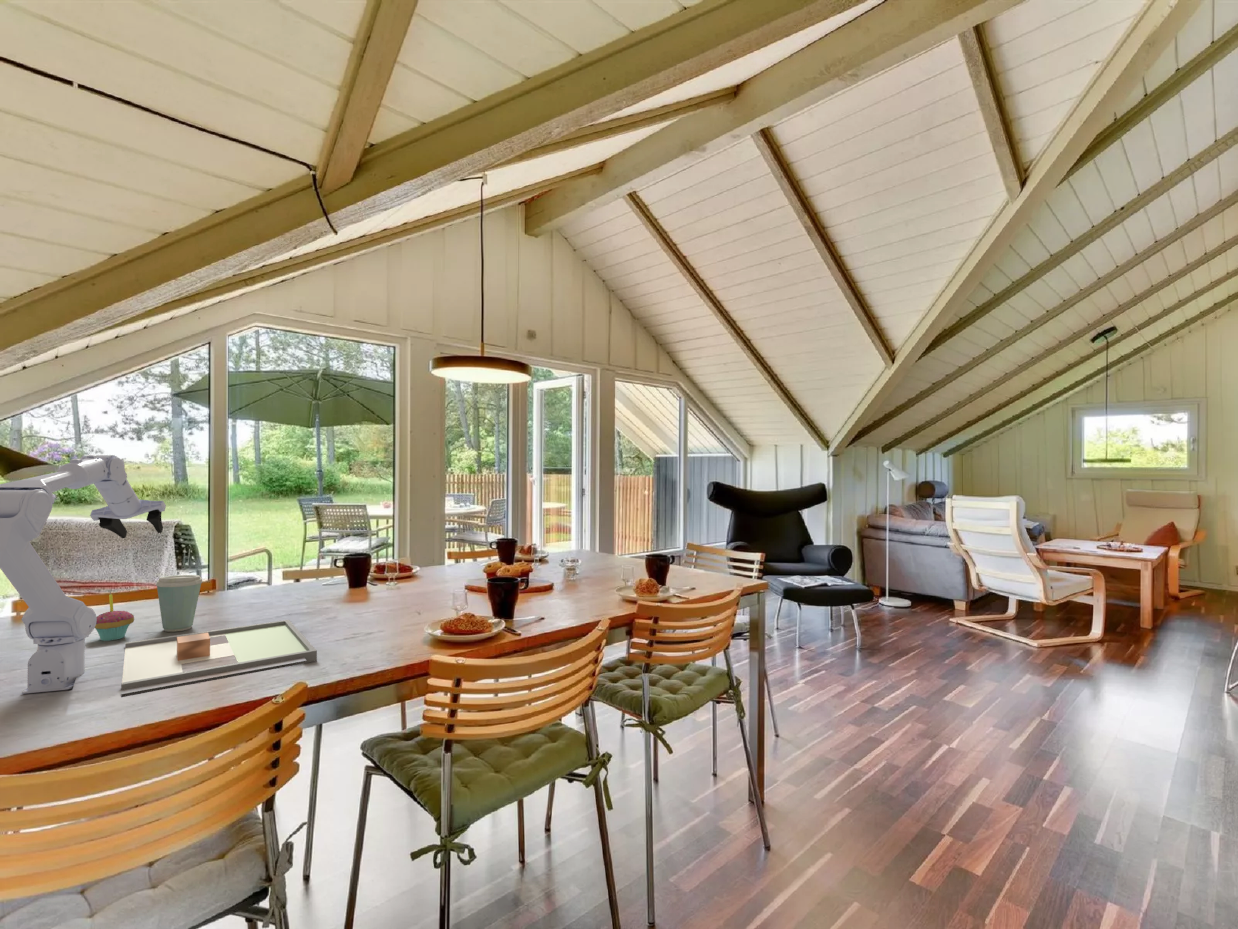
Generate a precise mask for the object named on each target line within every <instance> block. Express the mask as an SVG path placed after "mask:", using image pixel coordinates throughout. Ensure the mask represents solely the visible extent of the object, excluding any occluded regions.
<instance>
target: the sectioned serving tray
mask: <svg viewBox="0 0 1238 929" xmlns="http://www.w3.org/2000/svg"><path fill="white" fill-rule="evenodd" d="M202 633H208V634H209V637H210V639H211V638H218V637H224V636H225V638H226V640H227V642H225V643H218V644H213V645H212V644H210V656H205V657H198V658H192V659H186V660H180V661H178V658H177V637H180V636H187V635H195V634H202ZM124 645H125V648H124V658H123V659H124V660H123V668H122V676H121V686H120V687H121V688H120V690H122V691H124V690H127V689H133V688H139V687H145V686H149V685H150V686H151V685H155V684H156V685H157V684H161V683H167V682H174V681H178V680H184V679H189V678H196V677H200V676H207V675H211V674H218V673H223V672H228V671H236V670H240V669H245V668H251V667H252V668H253V667H256V666H261V665H268V664H274V663H279V662H280V663H281V662H285V661H291V660H297V659H301V658H304V659H305V660H303V661H297V662H296V661H295V662H290V663H285V664H279V665H274V666H270V667H263V668H257V669H252V670H246V671H241V672H236V673H230V674H226V675H219V676H214V677H209V678H204V679H203V678H202V679H197V680H192V681H187V682H186V681H185V682H181V683H175V684H169V685H165V686H158V687H153V688H149V689H148V688H147V689H141V690H137V691H133V692H132V691H131V692H126V693H121V694H120V696H121V698H125V697H129V696H135V695H141V694H146V693H151V692H156V691H162V690H167V689H168V690H169V689H173V688H178V687H179V688H180V687H184V686H190V685H195V684H200V683H206V682H211V681H217V680H221V679H223V680H224V679H227V678H232V677H237V676H243V675H248V674H249V675H250V674H253V673H260V672H264V671H269V670H270V671H271V670H277V669H281V668H282V669H283V668H287V667H292V666H299V665H304V664H309V663H314V662H317V660H318V659H317V657H318V656H317V655H318V653H317V652H318V650H317V649H316V648H315V646H314V645H312V643H311V642H310V641H309V640H308V639H307V638H306V637H305V636H304V635H303V633H301V631H300V630H299V629H298V628H297V627H296V626H295V624H293V622H292V621H291V620H290V619H284V620H277V621H271V622H270V621H269V622H263V623H255V624H247V625H241V626H233V627H226V628H219V629H213V630H207V631H206V630H205V631H199V632H192V633H191V632H190V633H185V634H184V633H183V634H176V635H170V636H169V635H168V636H163V637H155V638H149V639H148V638H147V639H142V640H135V641H134V640H133V641H128V642H127V641H126V642H125V644H124ZM232 656H234V657H235V659H236V661H237V662H234V663H229V664H224V665H216V666H211V667H206V668H200V669H194V670H187V671H183V666H182V665H184V664H189V663H190V664H191V663H197V662H203V661H208V660H215V659H220V658H228V657H232Z"/></svg>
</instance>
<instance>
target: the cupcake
mask: <svg viewBox="0 0 1238 929" xmlns="http://www.w3.org/2000/svg"><path fill="white" fill-rule="evenodd" d="M108 597H109V598H108V599H109V611H107V612H102V613H100V614H98V615H96V617H97V621H96V626H95V628H94V630H96V632H97V633H98V636H99V639H100V640H101V641H104V642H106V641H109V642H110V641H115V640H120V639H123V638H124V637H126V633H127V630H128V629H129V627H130V625H131V624H133V623H134V621H135V617H134V616H135V615H134V614H132V613H130V612H129V611H127V610H126V611H125V610H114V601H113V600H114V597H113V594H112V592H111V591H109V595H108Z"/></svg>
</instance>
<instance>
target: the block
mask: <svg viewBox="0 0 1238 929" xmlns="http://www.w3.org/2000/svg"><path fill="white" fill-rule="evenodd" d="M210 646H211V638H210V637H209V634H208V633H202V634H195V635H187V636H180V637H177V658H178V661H180V660H186V659H192V658H198V657H205V656H210Z"/></svg>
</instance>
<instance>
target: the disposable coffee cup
mask: <svg viewBox="0 0 1238 929" xmlns="http://www.w3.org/2000/svg"><path fill="white" fill-rule="evenodd" d="M203 582H204V581H203V577H201V575H198V574H179V575H178V574H177V575H167V576H160V577H159V578H158V580H157V581H156V584H155V586H156V590H157V596H158V604H159V611H160V617H161V618H160V619H161V624H162V629H163V631H164V632H166V633H167V632H169V633H172V632H173V633H175V632H182V631H187V630H190V629H192V626H193V624H194V619H195V615H196V611H197V605H198V600H199V596H200V592H201V591H200V590H201V585H202V583H203Z"/></svg>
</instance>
